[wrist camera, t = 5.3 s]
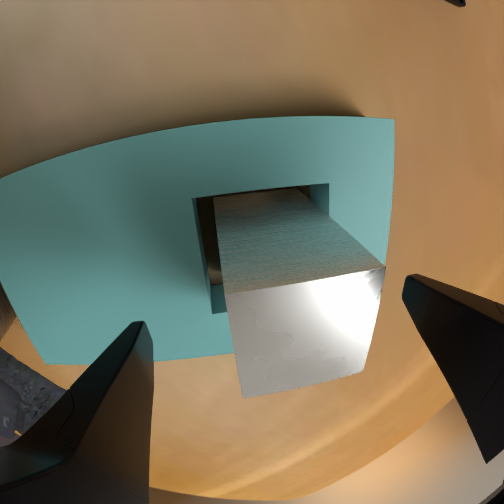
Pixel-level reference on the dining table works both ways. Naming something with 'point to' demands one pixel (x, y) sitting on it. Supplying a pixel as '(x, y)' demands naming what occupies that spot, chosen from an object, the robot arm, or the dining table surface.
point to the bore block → (170, 225)
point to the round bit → (5, 313)
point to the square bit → (294, 291)
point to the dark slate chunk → (23, 395)
